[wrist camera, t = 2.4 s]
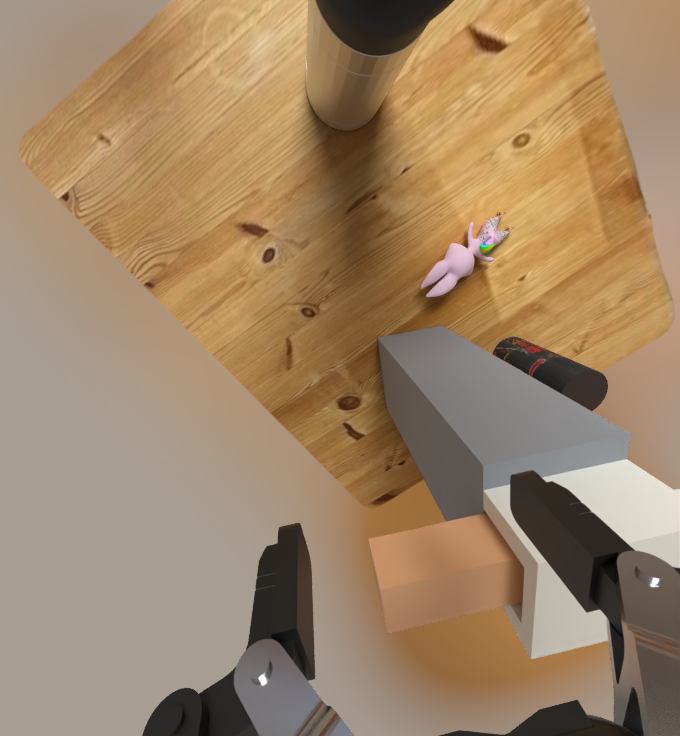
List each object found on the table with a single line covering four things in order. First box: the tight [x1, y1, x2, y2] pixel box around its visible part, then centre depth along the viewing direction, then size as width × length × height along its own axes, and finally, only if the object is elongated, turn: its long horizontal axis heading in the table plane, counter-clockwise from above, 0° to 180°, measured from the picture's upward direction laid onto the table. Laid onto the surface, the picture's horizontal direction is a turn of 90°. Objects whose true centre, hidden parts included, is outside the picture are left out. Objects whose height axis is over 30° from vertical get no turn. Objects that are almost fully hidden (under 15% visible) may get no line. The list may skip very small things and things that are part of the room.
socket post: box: [377, 325, 680, 659], centre depth 35 cm, size 12×10×36 cm
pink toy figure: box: [421, 211, 515, 297], centre depth 45 cm, size 6×6×15 cm
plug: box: [368, 489, 680, 634], centre depth 22 cm, size 4×22×4 cm, turn 99°
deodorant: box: [493, 337, 608, 411], centre depth 47 cm, size 6×6×15 cm
